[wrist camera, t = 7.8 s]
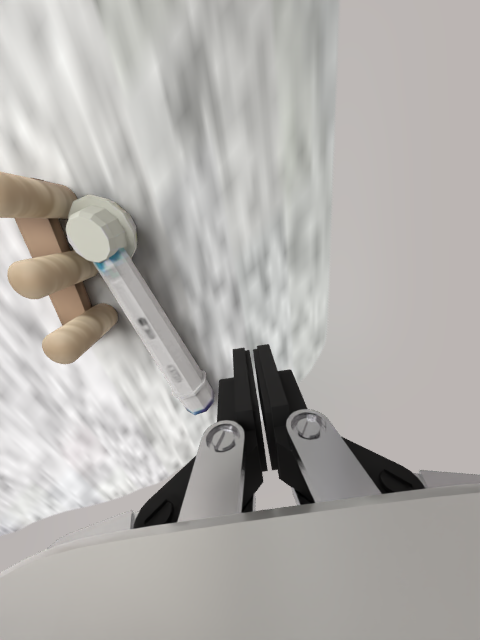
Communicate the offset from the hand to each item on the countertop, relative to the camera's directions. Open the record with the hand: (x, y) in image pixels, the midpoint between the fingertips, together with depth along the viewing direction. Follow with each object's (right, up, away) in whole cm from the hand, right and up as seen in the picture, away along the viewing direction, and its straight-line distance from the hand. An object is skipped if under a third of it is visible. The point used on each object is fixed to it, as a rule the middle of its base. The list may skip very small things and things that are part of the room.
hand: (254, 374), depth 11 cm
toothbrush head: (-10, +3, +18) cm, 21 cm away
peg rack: (-18, +8, +15) cm, 25 cm away
